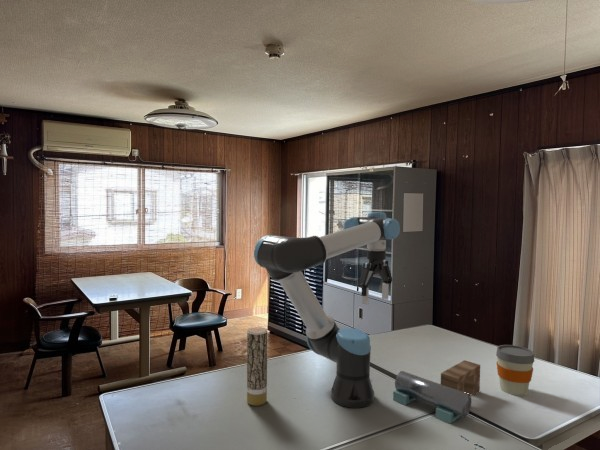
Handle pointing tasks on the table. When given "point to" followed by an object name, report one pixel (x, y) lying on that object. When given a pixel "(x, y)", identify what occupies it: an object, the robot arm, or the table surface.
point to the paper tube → (256, 366)
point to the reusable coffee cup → (514, 368)
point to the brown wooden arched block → (463, 377)
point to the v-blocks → (440, 412)
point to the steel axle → (434, 393)
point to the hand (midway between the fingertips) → (375, 301)
